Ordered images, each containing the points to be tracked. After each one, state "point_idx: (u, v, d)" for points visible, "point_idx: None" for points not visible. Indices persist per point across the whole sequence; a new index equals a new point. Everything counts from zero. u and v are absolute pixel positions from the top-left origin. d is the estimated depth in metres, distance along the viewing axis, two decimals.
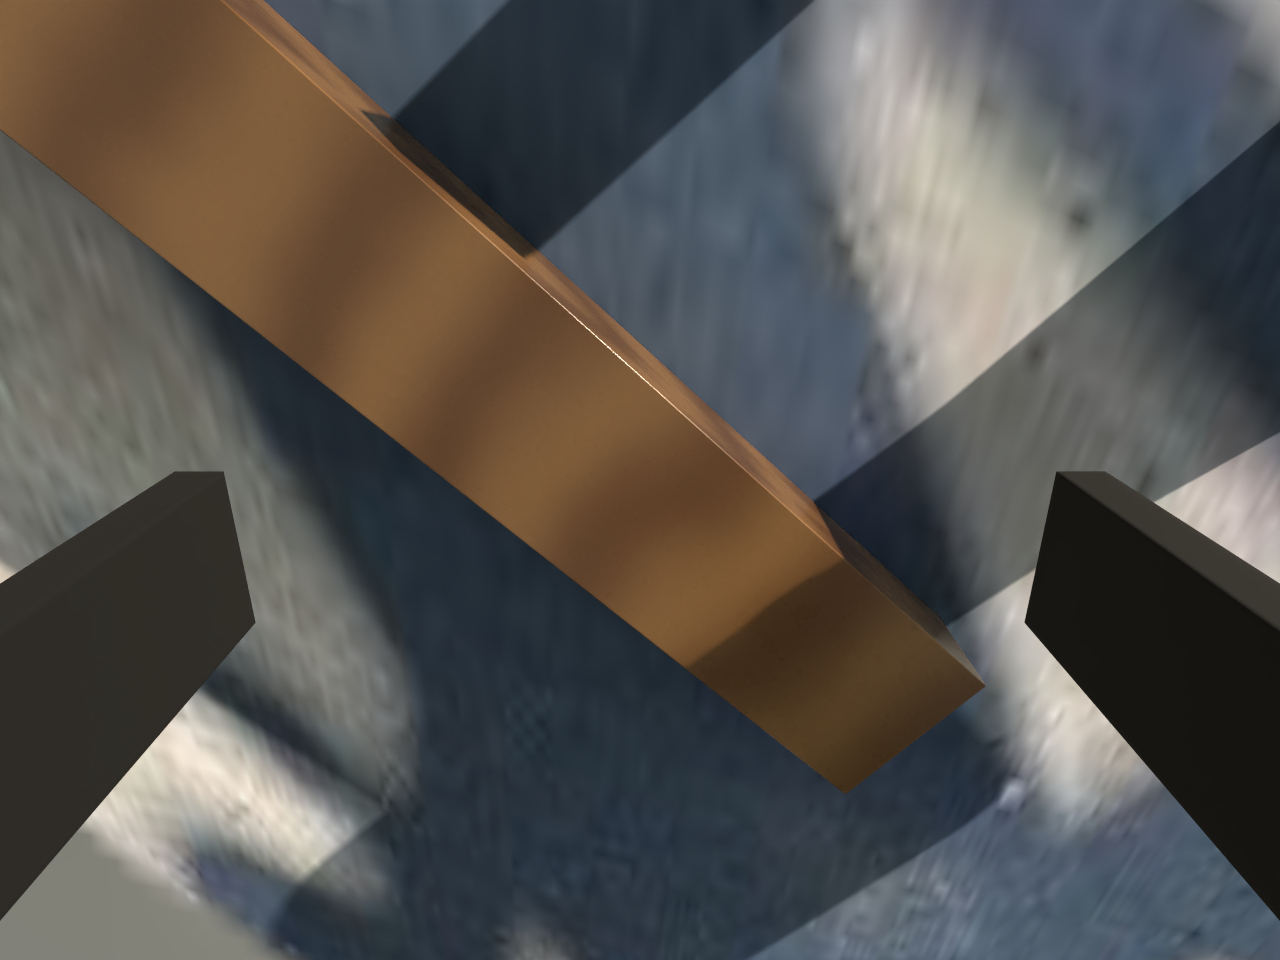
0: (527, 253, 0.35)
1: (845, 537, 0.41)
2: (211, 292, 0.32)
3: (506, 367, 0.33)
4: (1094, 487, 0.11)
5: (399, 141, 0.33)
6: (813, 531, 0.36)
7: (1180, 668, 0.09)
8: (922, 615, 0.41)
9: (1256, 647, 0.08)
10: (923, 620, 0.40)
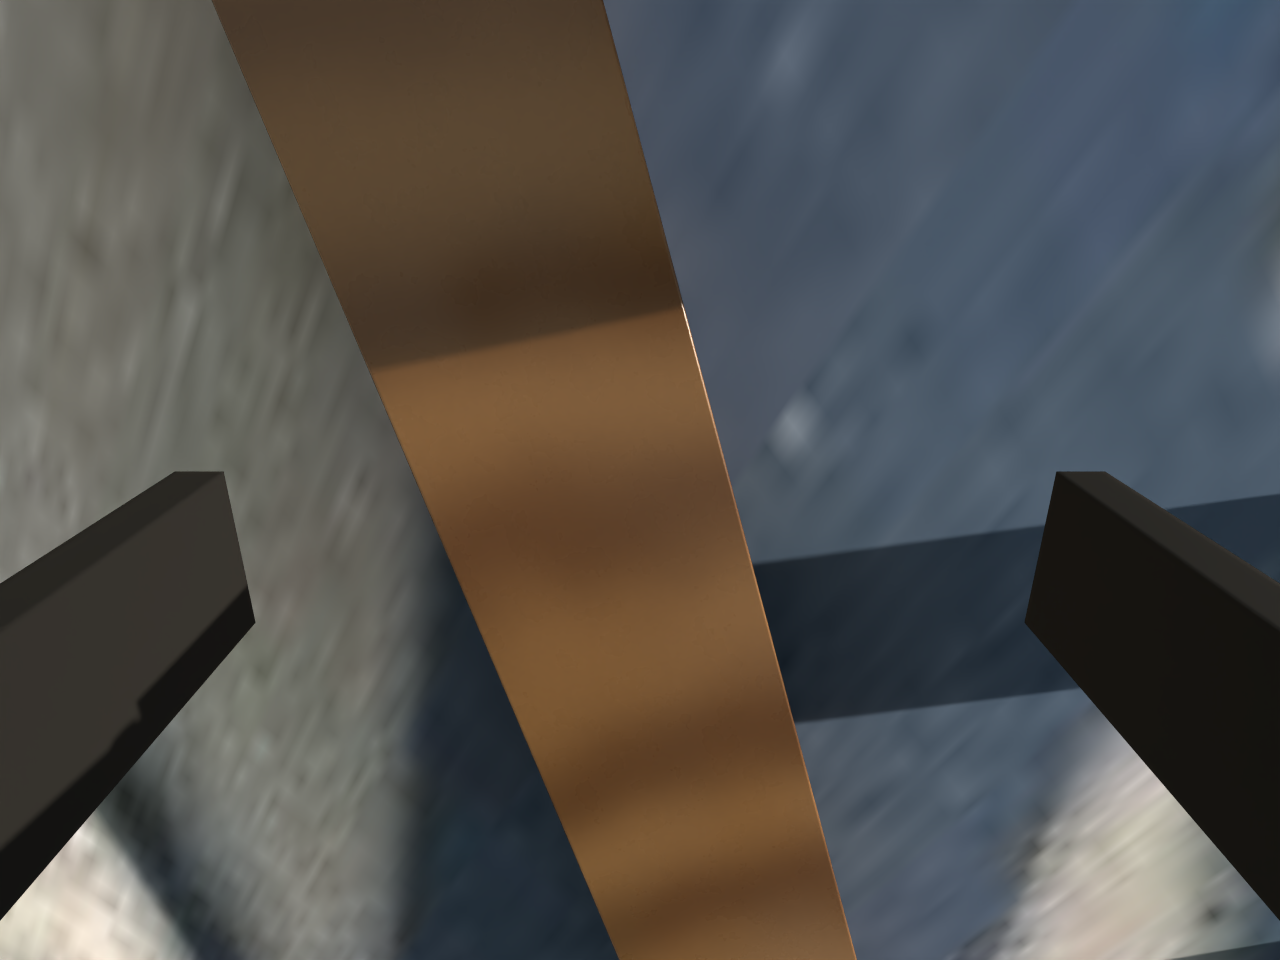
0: None
1: None
2: (520, 718, 0.28)
3: (747, 899, 0.31)
4: (1094, 487, 0.11)
5: None
6: None
7: (1180, 668, 0.09)
8: None
9: (1256, 647, 0.08)
10: None
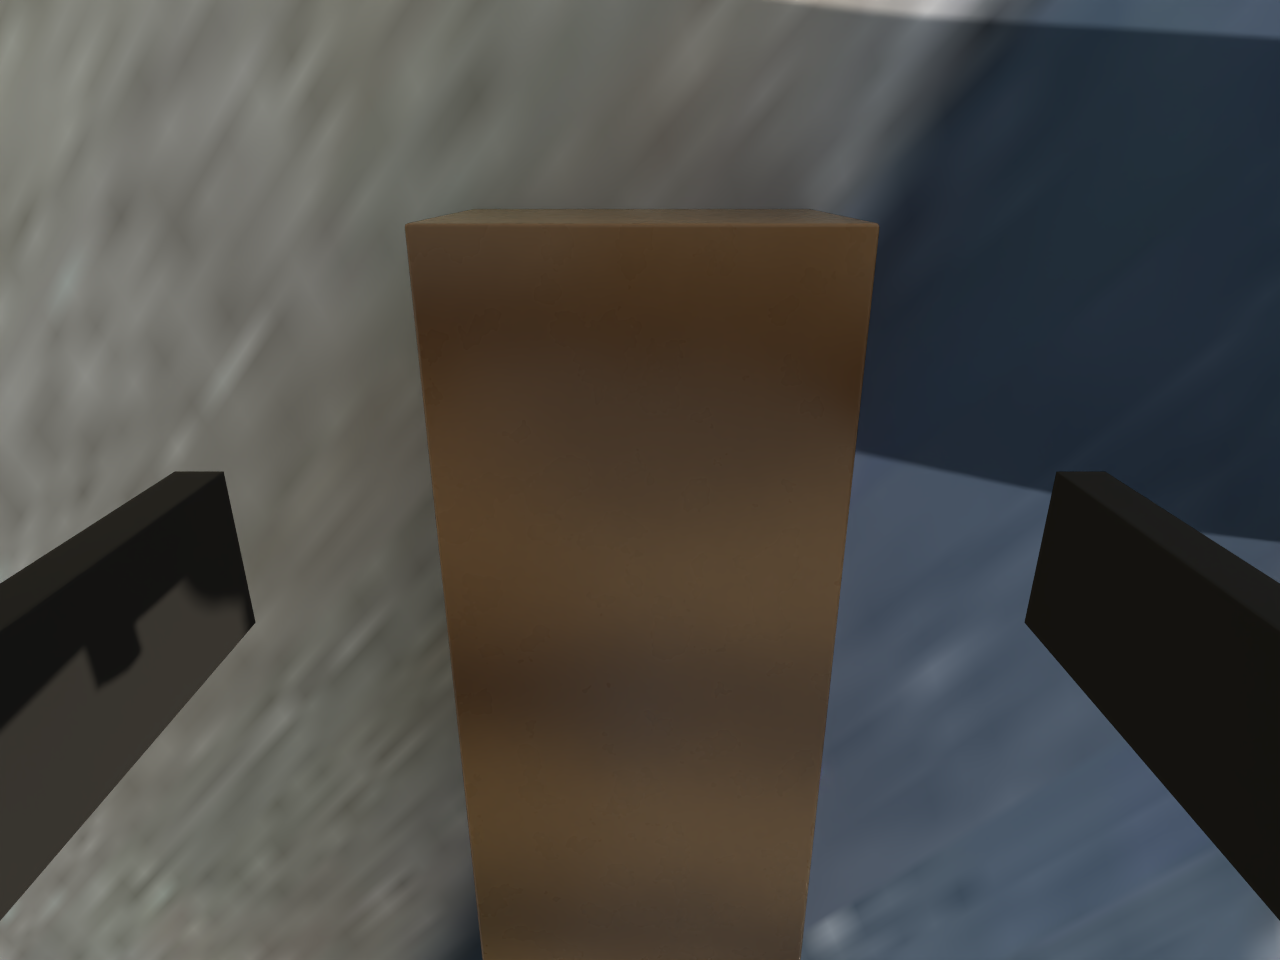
0: None
1: None
2: None
3: None
4: (1094, 487, 0.11)
5: None
6: None
7: (1180, 668, 0.09)
8: None
9: (1256, 647, 0.08)
10: None
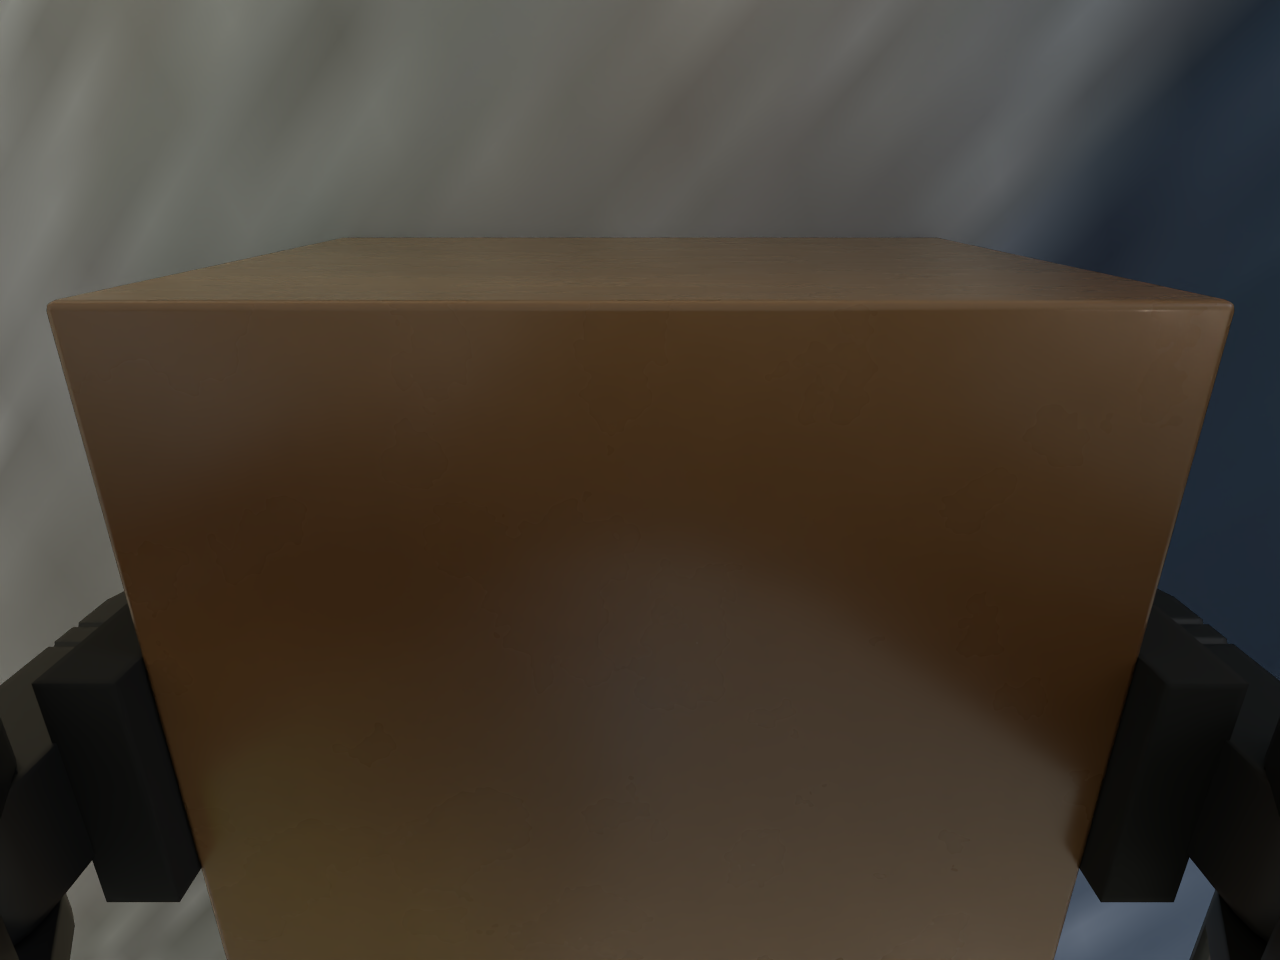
0: None
1: None
2: None
3: None
4: None
5: None
6: None
7: None
8: None
9: None
10: None
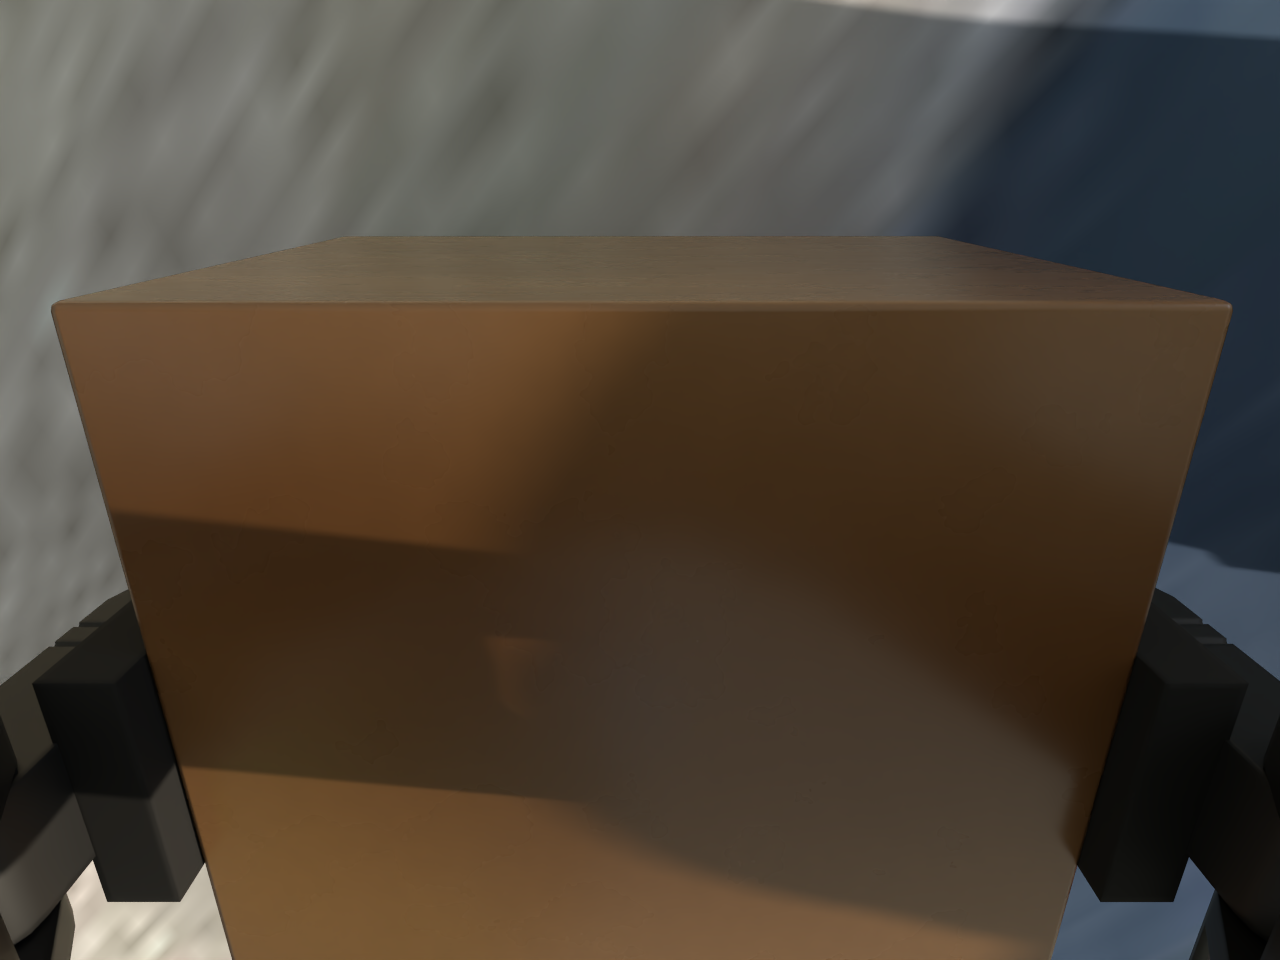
0: None
1: None
2: None
3: None
4: None
5: None
6: None
7: None
8: None
9: None
10: None
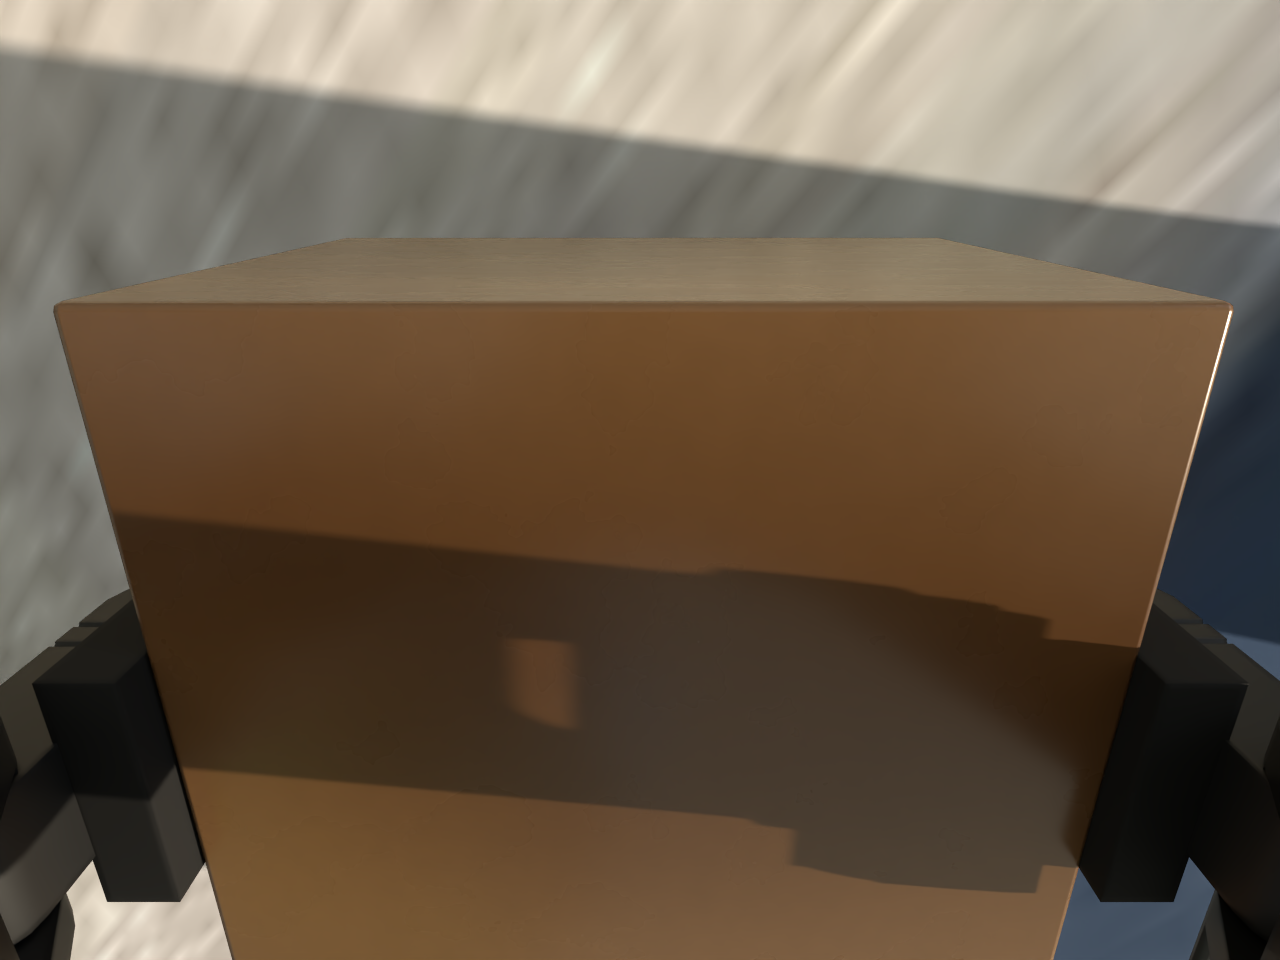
0: None
1: None
2: None
3: None
4: None
5: None
6: None
7: None
8: None
9: None
10: None
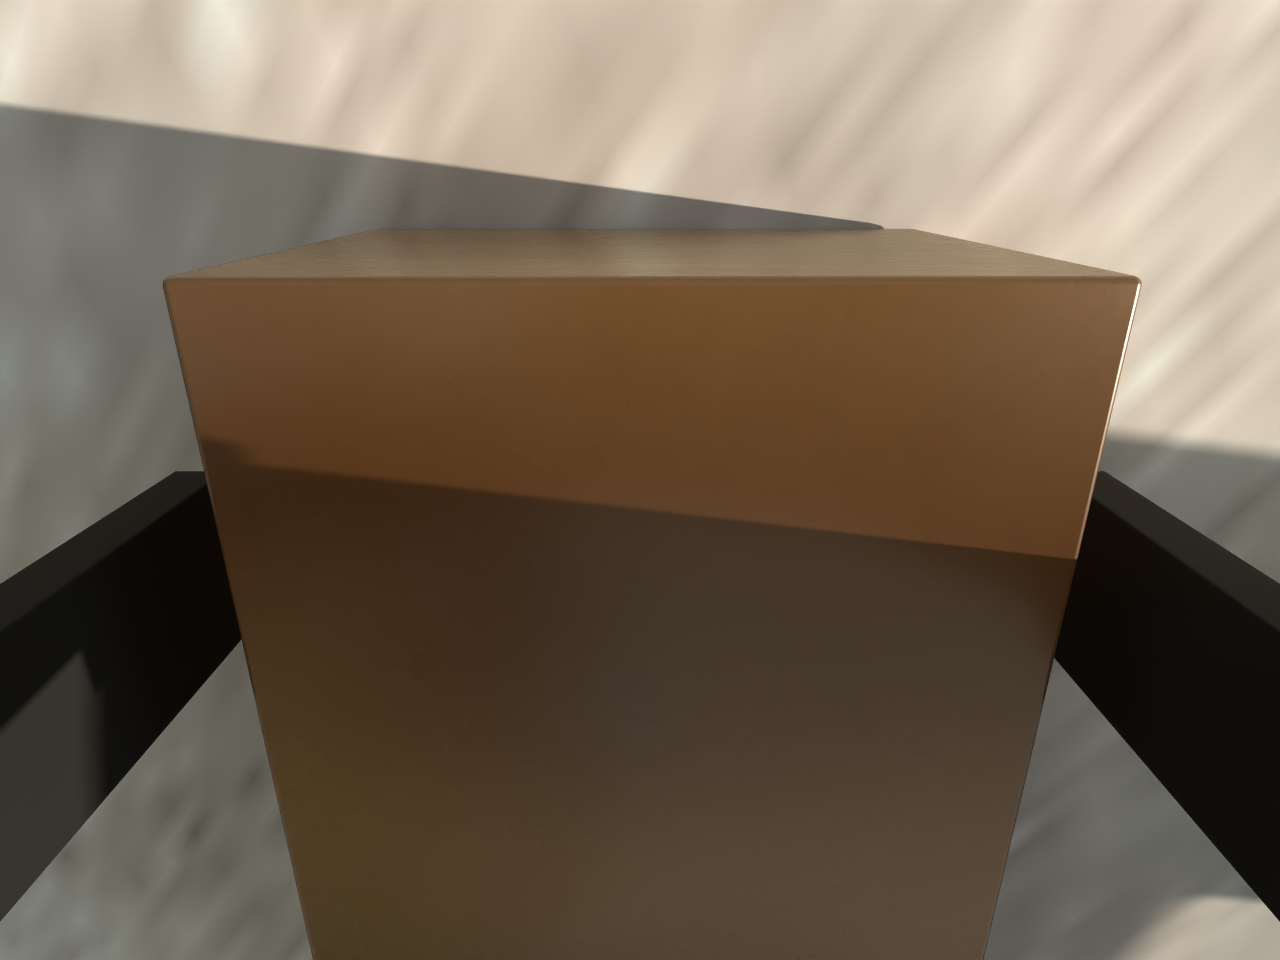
0: None
1: None
2: None
3: None
4: None
5: None
6: None
7: (1179, 668, 0.09)
8: None
9: (1255, 647, 0.08)
10: None
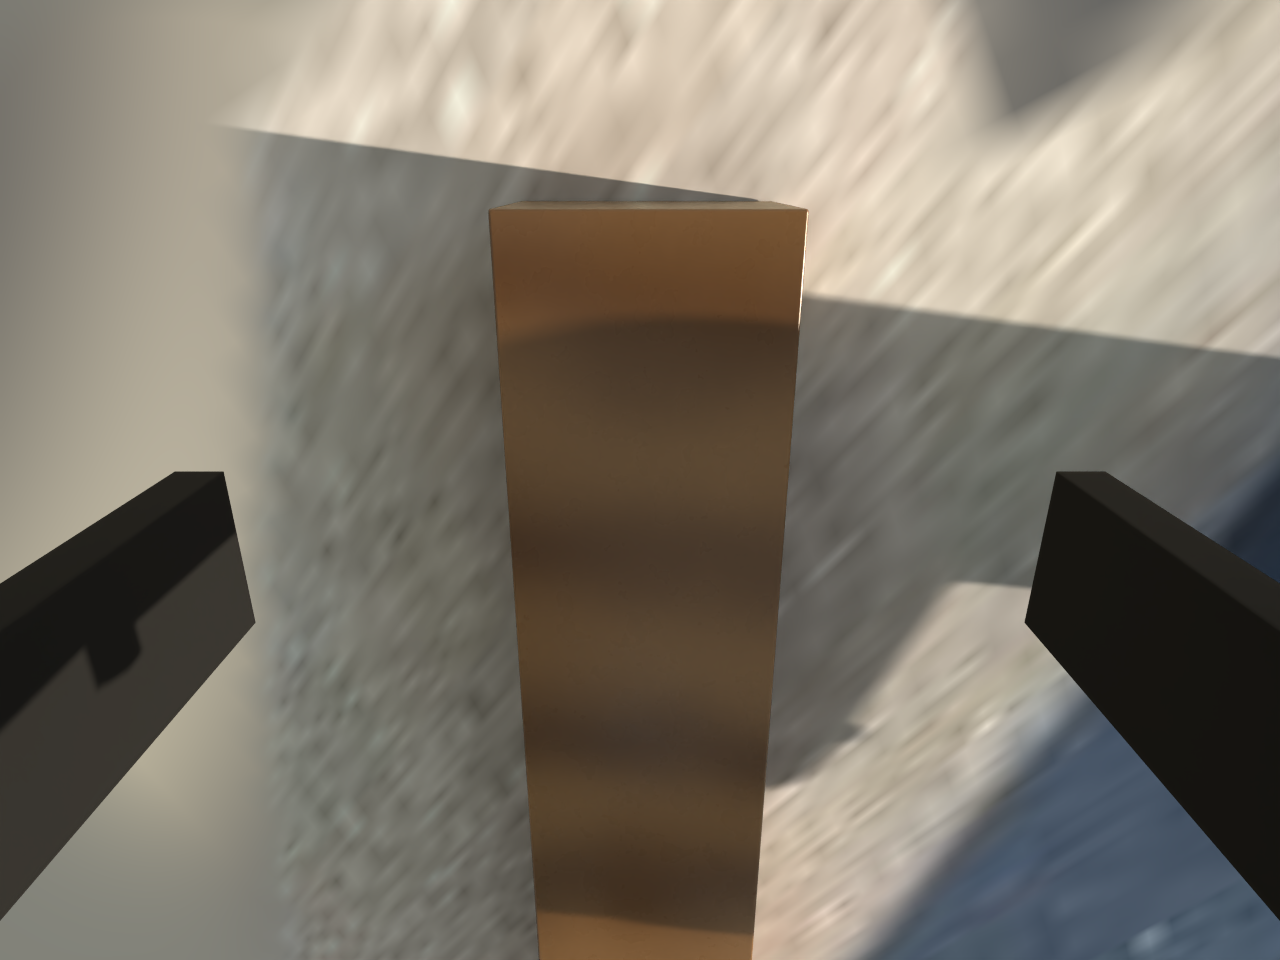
0: None
1: None
2: None
3: None
4: (1094, 487, 0.11)
5: None
6: None
7: (1180, 668, 0.09)
8: None
9: (1256, 647, 0.08)
10: None
